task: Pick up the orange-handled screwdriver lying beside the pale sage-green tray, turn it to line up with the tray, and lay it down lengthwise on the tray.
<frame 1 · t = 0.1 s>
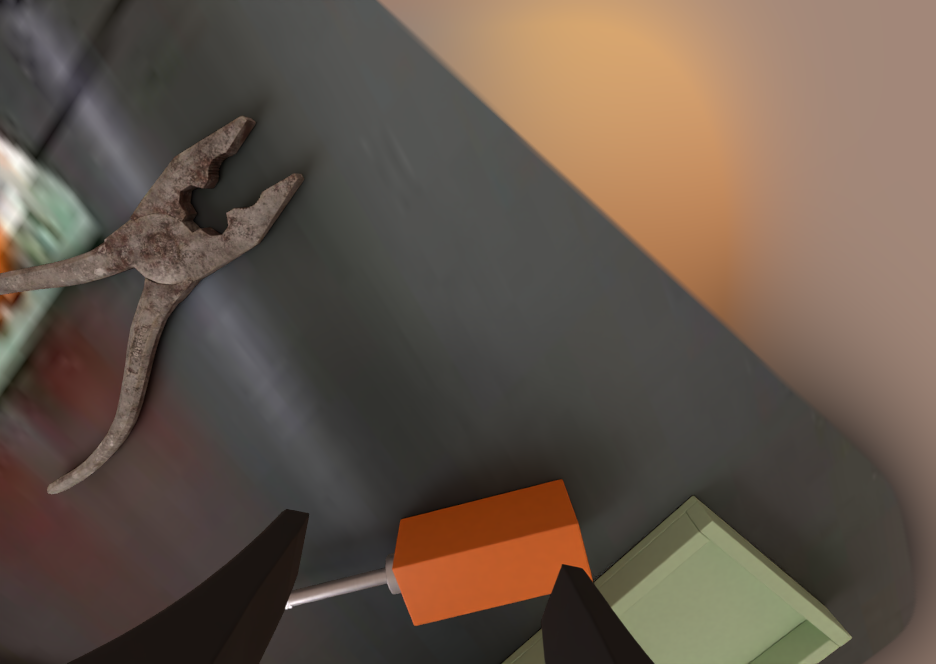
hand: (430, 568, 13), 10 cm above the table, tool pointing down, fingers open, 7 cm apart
pliers: (92, 283, 21), on the table
tray: (628, 661, 28), on the table
screwdriver: (488, 526, 25), on the table
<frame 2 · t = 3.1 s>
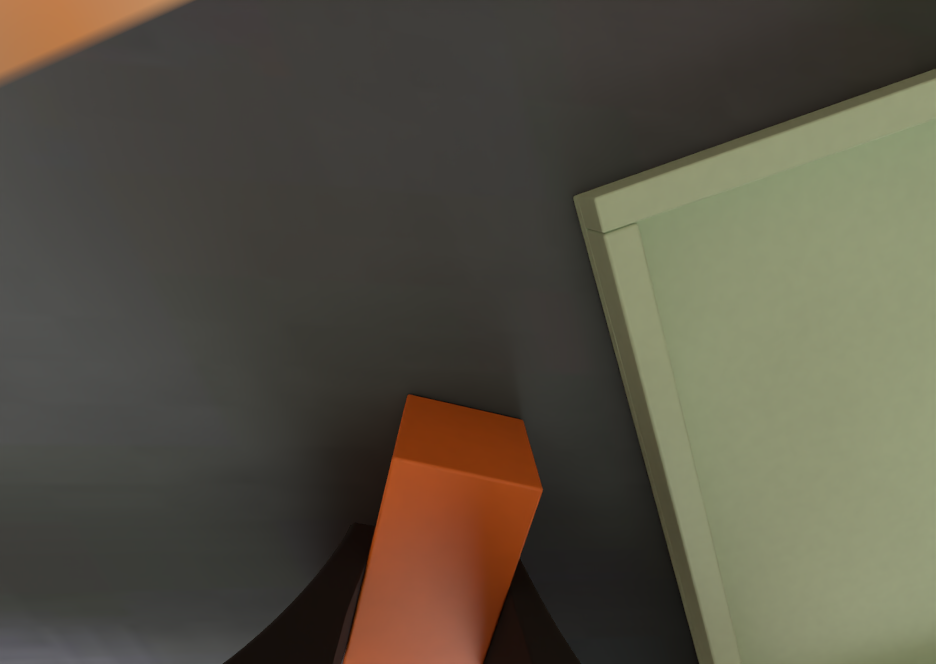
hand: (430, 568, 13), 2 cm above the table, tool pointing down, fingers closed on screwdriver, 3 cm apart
tray: (838, 455, 14), on the table
screwdriver: (432, 529, 15), on the table, touching gripper
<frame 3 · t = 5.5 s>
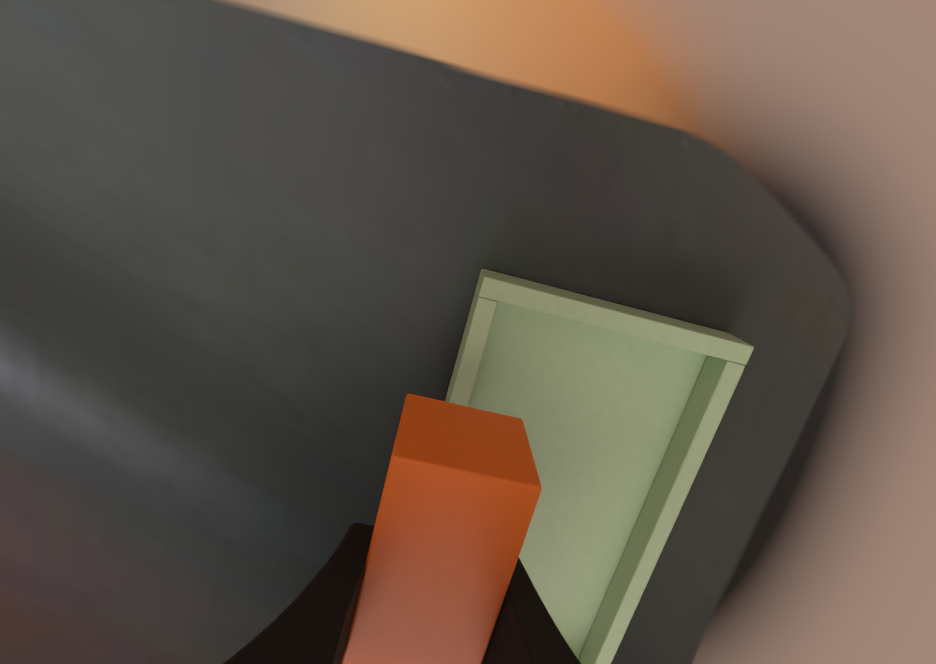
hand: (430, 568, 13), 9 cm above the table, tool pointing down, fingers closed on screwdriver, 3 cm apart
tray: (539, 495, 23), on the table
screwdriver: (431, 528, 15), point 7 cm above the table, touching gripper
when the fingers open (2 cm above the table, at t = 7.9 s): screwdriver stays where it is, resting on tray.
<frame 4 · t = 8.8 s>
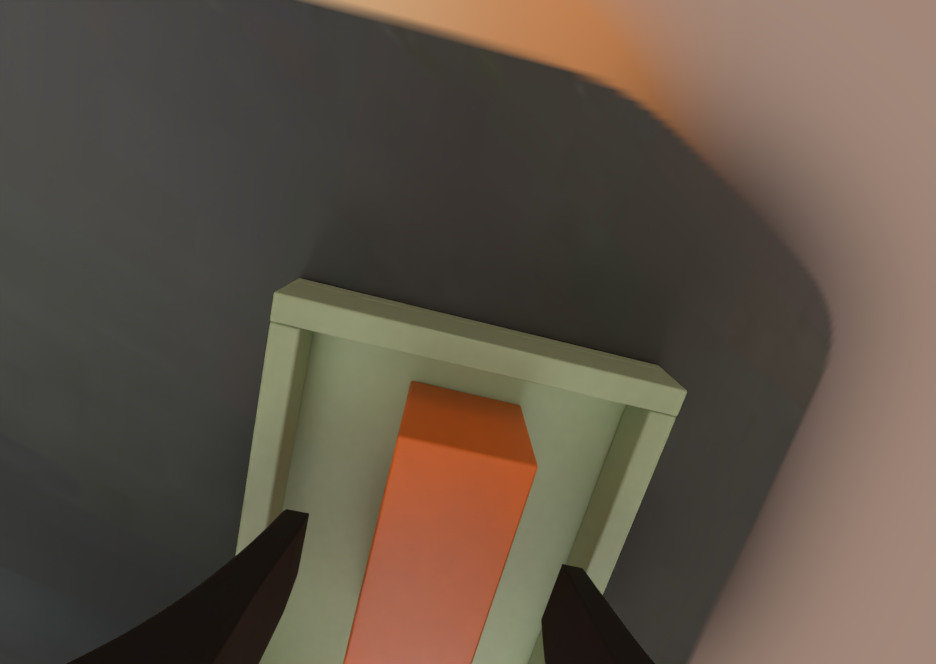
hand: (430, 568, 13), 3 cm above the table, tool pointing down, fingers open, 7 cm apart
tray: (413, 582, 17), on the table
screwdriver: (434, 510, 16), resting on tray
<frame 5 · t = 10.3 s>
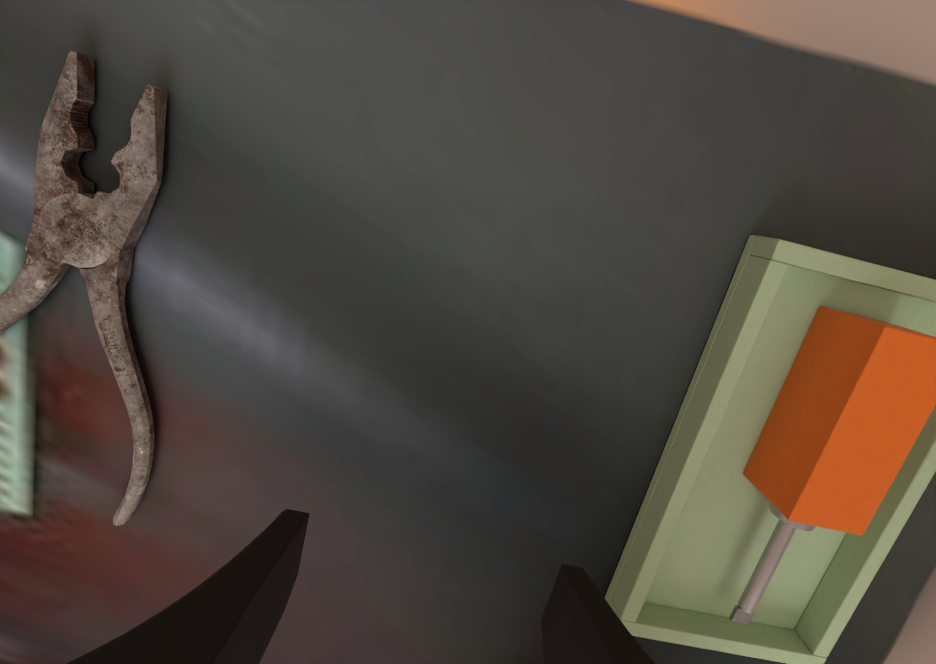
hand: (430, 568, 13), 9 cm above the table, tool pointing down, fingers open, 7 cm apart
pliers: (48, 305, 21), on the table
tray: (775, 461, 23), on the table
screwdriver: (812, 401, 22), resting on tray
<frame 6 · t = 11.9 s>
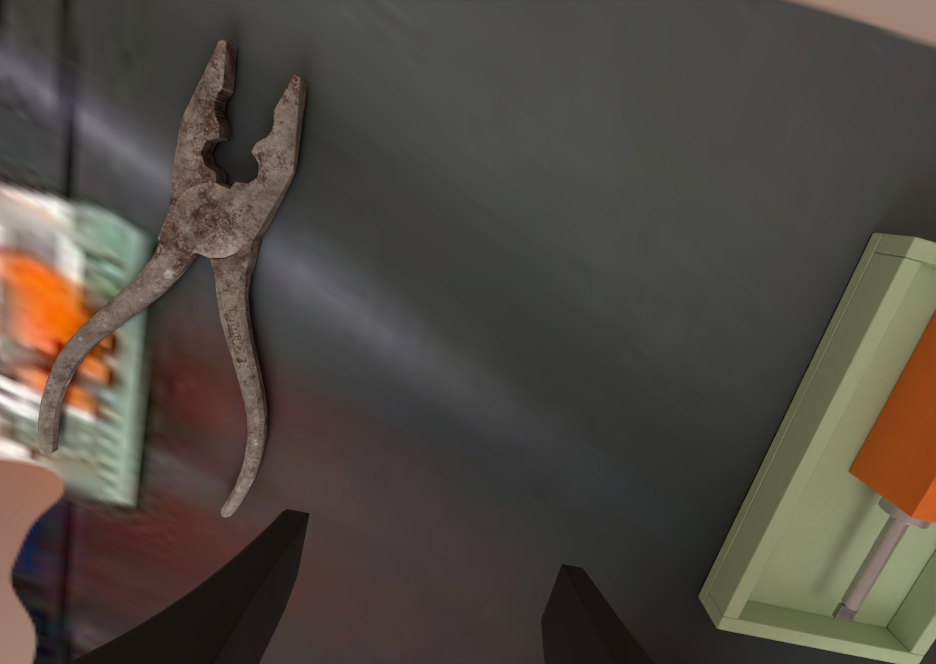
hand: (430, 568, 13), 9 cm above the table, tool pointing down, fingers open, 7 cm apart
pliers: (169, 295, 21), on the table
tray: (879, 459, 23), on the table
screwdriver: (923, 400, 22), resting on tray
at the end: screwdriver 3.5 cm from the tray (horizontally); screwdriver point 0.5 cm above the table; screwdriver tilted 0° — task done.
